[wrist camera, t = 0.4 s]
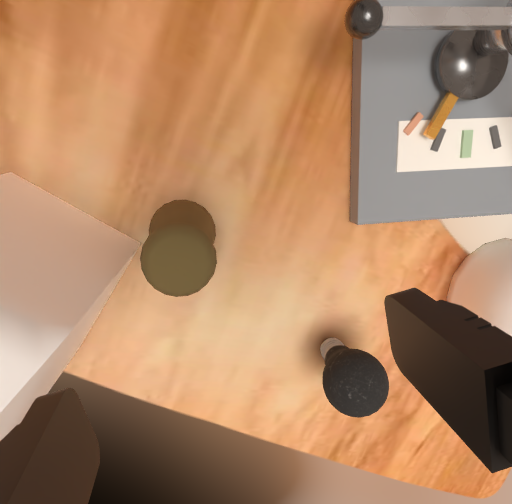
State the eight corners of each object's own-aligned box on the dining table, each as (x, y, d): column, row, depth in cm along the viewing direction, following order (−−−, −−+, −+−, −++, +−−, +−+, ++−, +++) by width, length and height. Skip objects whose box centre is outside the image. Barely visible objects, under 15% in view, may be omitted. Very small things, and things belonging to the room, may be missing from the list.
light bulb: (298, 367, 42) (329, 431, 33) (307, 317, 41) (342, 369, 31) (348, 369, 43) (393, 433, 34) (359, 321, 42) (408, 373, 32)
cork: (226, 215, 37) (238, 241, 26) (200, 273, 38) (203, 321, 27) (163, 188, 36) (151, 205, 25) (138, 249, 37) (116, 290, 26)
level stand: (355, -98, 32) (368, -118, 30) (574, -89, 35) (602, -106, 33) (349, 220, 39) (359, 225, 37) (534, 208, 42) (554, 211, 39)
